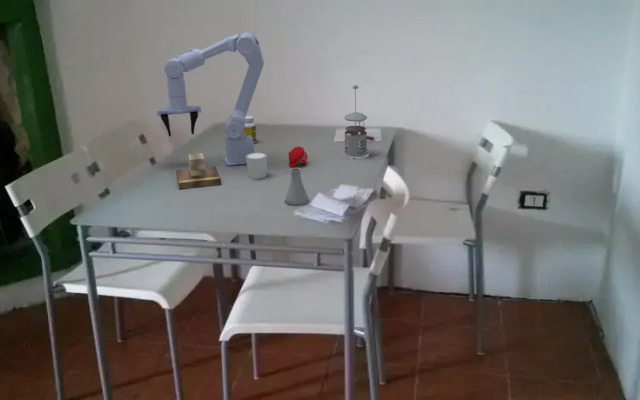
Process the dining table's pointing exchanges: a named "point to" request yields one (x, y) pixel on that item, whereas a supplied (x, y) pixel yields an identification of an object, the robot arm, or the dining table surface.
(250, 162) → the shot glass
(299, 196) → the flask
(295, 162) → the cap
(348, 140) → the french press
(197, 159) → the beige block
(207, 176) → the dock
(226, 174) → the dining table surface
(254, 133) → the supplement bottle
